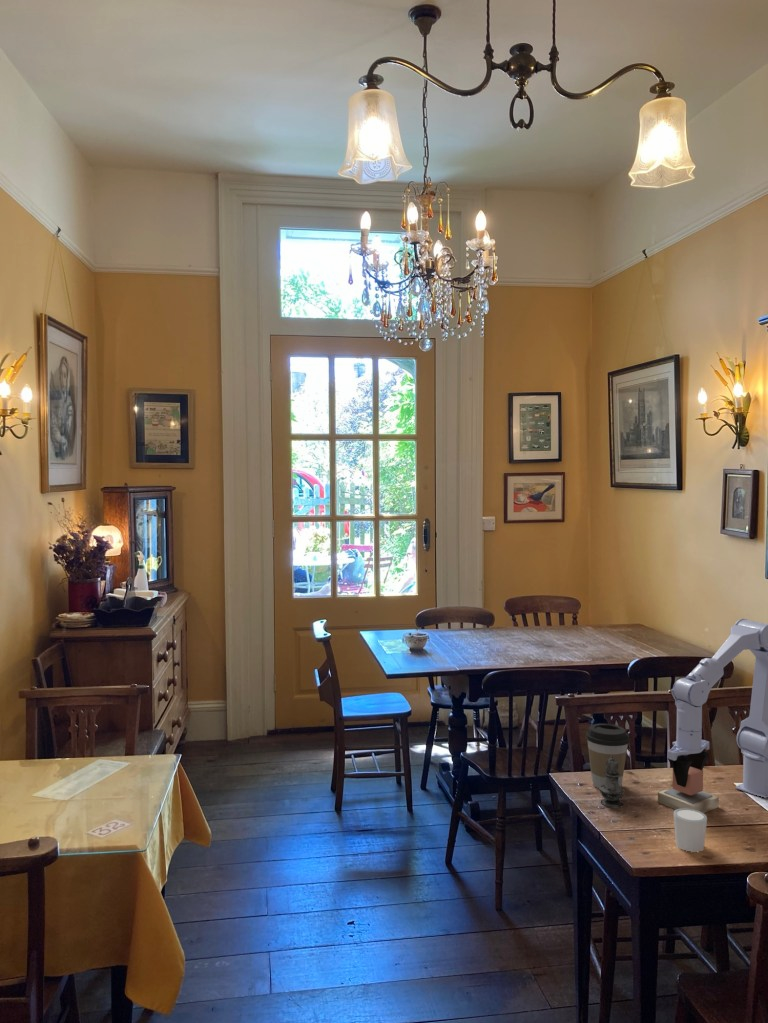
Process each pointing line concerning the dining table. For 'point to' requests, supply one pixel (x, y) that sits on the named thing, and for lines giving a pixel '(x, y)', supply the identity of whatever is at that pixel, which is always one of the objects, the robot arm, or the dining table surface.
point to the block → (691, 782)
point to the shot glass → (690, 829)
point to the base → (688, 800)
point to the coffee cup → (606, 750)
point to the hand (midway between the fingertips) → (688, 783)
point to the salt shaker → (612, 785)
